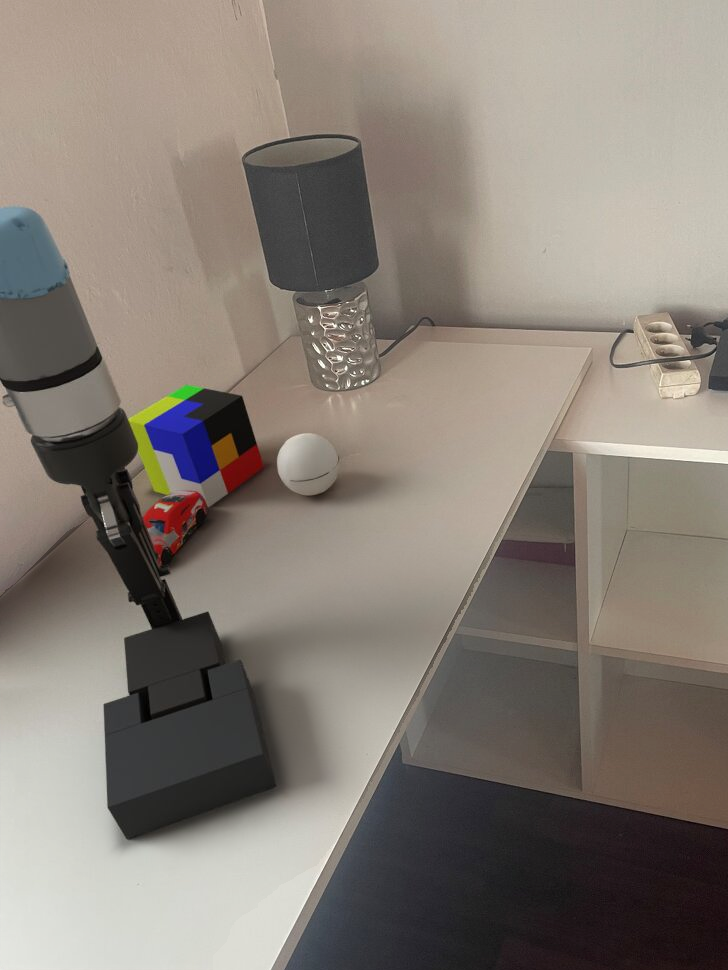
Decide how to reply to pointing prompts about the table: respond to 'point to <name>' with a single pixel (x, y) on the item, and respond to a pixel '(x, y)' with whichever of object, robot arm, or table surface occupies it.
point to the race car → (174, 521)
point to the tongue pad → (173, 664)
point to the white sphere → (308, 464)
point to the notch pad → (184, 755)
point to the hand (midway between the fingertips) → (174, 639)
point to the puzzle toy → (197, 442)
